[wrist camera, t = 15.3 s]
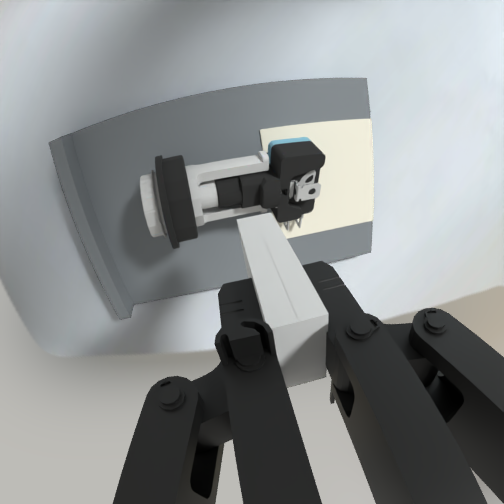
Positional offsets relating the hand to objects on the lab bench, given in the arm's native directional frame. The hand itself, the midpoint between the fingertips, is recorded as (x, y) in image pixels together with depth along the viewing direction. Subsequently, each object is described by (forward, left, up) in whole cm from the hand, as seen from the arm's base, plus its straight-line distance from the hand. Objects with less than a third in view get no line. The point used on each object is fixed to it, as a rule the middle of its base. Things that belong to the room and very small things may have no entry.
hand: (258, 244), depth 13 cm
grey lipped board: (0, 0, -8) cm, 8 cm away
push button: (0, +5, -6) cm, 7 cm away
